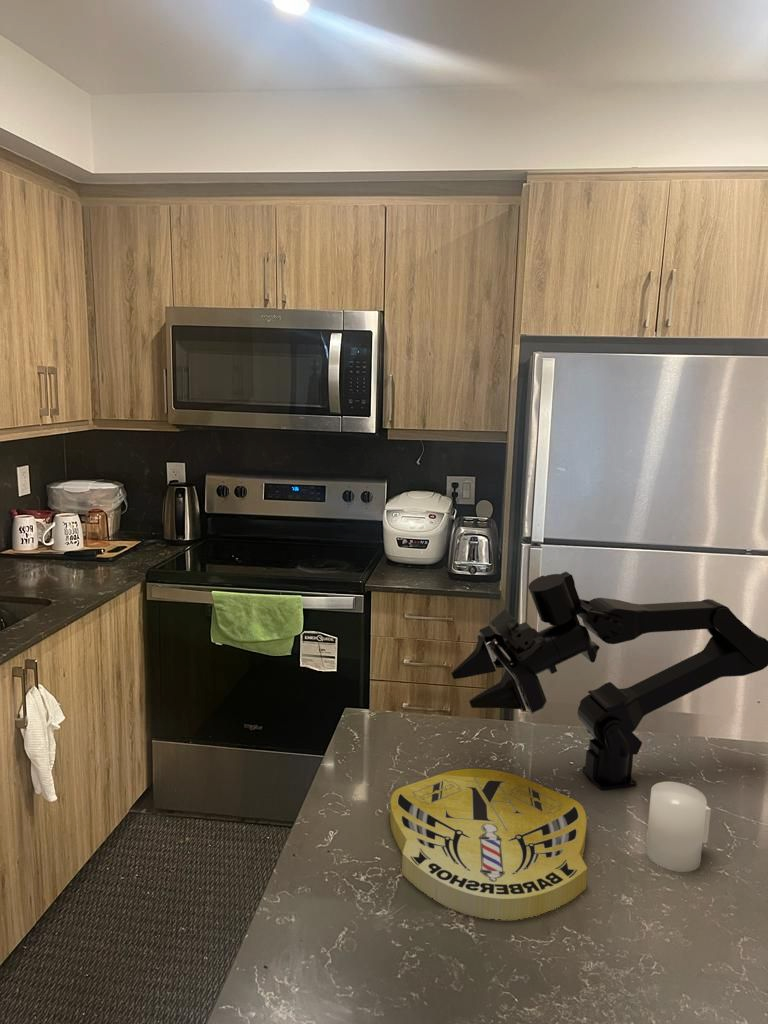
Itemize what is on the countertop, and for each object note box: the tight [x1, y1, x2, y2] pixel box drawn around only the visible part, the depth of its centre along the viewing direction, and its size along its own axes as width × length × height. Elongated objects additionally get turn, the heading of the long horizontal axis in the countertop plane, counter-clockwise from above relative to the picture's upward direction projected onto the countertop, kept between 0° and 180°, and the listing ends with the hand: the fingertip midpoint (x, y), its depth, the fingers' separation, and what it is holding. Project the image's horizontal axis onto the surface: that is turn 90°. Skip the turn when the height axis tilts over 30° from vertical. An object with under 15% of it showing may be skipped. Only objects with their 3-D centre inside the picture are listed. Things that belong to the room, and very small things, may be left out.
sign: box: [389, 768, 588, 921], centre depth 104 cm, size 28×3×30 cm
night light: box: [645, 781, 712, 873], centre depth 102 cm, size 8×7×9 cm
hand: (460, 689), depth 115 cm, fingers open, 9 cm apart
